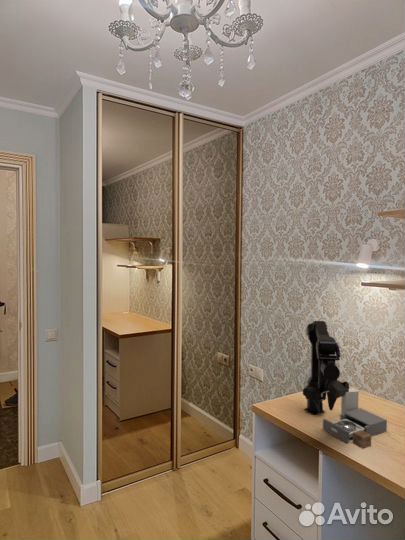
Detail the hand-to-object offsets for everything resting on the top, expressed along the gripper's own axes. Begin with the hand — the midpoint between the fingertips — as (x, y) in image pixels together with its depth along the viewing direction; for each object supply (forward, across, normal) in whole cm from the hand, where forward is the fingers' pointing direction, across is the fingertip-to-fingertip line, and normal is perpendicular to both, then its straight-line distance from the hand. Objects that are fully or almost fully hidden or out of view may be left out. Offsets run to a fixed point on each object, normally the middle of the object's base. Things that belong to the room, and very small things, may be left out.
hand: (325, 411), depth 144 cm
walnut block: (+11, +10, -9) cm, 17 cm away
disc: (+9, +12, 0) cm, 15 cm away
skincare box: (+11, +25, +10) cm, 29 cm away
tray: (+11, +11, 0) cm, 15 cm away
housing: (+11, +21, 0) cm, 24 cm away
